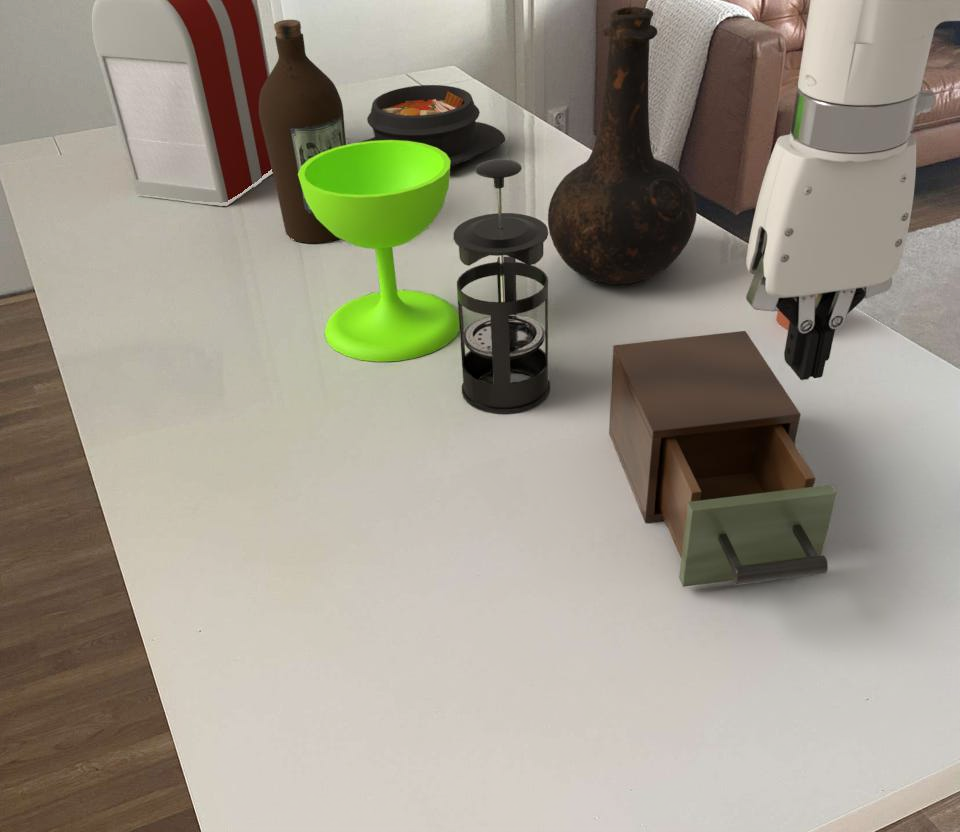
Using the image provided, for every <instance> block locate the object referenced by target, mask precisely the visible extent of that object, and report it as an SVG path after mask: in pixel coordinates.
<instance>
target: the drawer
mask: <svg viewBox="0 0 960 832" xmlns="http://www.w3.org/2000/svg"><path fill="white" fill-rule="evenodd" d="M815 482H816V476H815V474H814V473H813V471H812V470H811V468H810V467H809V465H808V464H807V462H806V461H805V459H804V457H803V456H802V454H801V453H800V450H799V449H798V448H797V446H796V445H794V443H793V441H792V440H791V438H790V437H789V435H788V434H787V432H786V430H785V429H784V427H783V426H782V424H777V425H768V426H759V427H751V428H742V429H734V430H725V431H716V432H708V433H699V434H691V435H682V436H674V437H665V438H661V447H660V458H659V469H658V479H657V490H656V501H657V503H658V506H659V508H660V510H661V513H662V515H663V517H664V522H665V524H666V527H667V529H668V531H669V533H670V536H671V538H672V541H673V543H674V545H675V548H676V550H677V552H678V555H679V557H680V567H679V574H678V579H679V582H680V583H681V587H683V588H686V587H691V586H692V587H693V586H699V585H700V586H701V585H708V584H717V583H725V582H731V581H732V583H733V584H734V585H736V586H737V585H738V586H739V585H745V584H754V583H761V582H768V581H769V582H770V581H777V580H785V579H793V578H802V577H808V576H810V577H811V576H817V575H818V576H819V575H825V574H827V572H828V568H829V563H828V559H827V557H826V556H825V555H822V554H823V551H824V546H825V542H826V537H827V534H828V531H829V526H830V522H831V519H832V514H833V510H834V508H835V507H834V506H835V502H836V499H837V495H838V493H837V492H836V489H835V488H834V487H833V485H832V484H825V485H817V486H815Z"/></svg>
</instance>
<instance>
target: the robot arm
mask: <svg viewBox="0 0 960 832" xmlns="http://www.w3.org/2000/svg"><path fill="white" fill-rule="evenodd" d="M944 22H960V0H810V1H809V9H808V15H807V21H806V26H805V27H806V28H805V35H804V41H803V47H802V53H801V61H800V67H799V74H798V80H797V86H796V93H795V99H794V106H793V112H792V118H791V119H792V120H791V125H790V132H789V134H784V135H780V136H778V138H777V139H776V142H775V144H774V147H773V150H772V152H771V155H770V158H769V160H768V163H767V166H766V170H765V172H764V176H763V178H762V182H761V187H760V190H759V194H758V197H757V201H756V202H757V203H756V205H755V206H756V207H755V211H754V215H753V220H752V224H751V229H750V234H749V239H748V245H747V251H746V259H745V260H746V261H745V264H746V269H747V271H748V273H749V274H752V275H753V278H752V280H751V283H750V285H749V288H748V291H747V294H746V298H745V299H746V301H747V302H748V304H749V305H750V306H751V307H752V308H753V309H754V310H756V311H765V312H778V311H780V312H781V313H782V314H783V315H784V316H785V317H786V318H787V319H788V320H789V321H790V323H789V328H788V330H787V335H786V341H785V346H784V353H783V357H784V362H785V363H786V364H787V366H788V367H790V369H791V370H792V371H793V372H794V374H795V375H796V376H797V378H798V379H799V380H800V381H805V380H809V379H810V378H813V379H818V378H819V379H820V378H822V377H823V375H824V370H825V367H826V362H828V361H829V359H830V356H831V351H832V347H833V342H834V339H835V337H834V336H835V334H836V333H835V332H836V330H837V329H840V328H841V327H842V326H843V325H844V324H845V322H846V319H847V316H848V315H849V313H851V312H852V310H854V309H855V308H857V306H858V305H859V304H860V303H861V302H862V301H863V300H864V299H869V298H873V297H874V296H877V295H880V294H883V293H885V292H887V291H889V290H890V289H891V288H892V285H893V277H894V276H895V275H896V274H897V271H898V269H899V267H900V265H901V261H902V258H903V254H904V251H905V247H906V242H907V237H908V232H909V227H910V221H911V217H912V216H911V215H912V209H913V203H914V197H915V196H914V195H915V185H916V172H917V138H916V137H915V136H914V134H913V133H912V132H913V130H914V127H915V123H916V118H917V116H920V115H921V114H924V113H929V112H931V111H932V110H933V107H934V105H935V97H936V96H935V93H934V90H933V89H923V87H922V85H923V81H924V77H925V72H926V68H927V63H928V59H929V54H930V50H931V46H932V43H933V42H932V41H933V37H934V33H935V30H936V28H937V27H938V26H939V25H940V24H942V23H944ZM816 294H818V296H817V299H816V302H815V296H816Z"/></svg>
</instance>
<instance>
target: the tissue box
mask: <svg viewBox="0 0 960 832" xmlns="http://www.w3.org/2000/svg"><path fill="white" fill-rule="evenodd" d="M258 13H259V12H258V10H257V6H256V4H255V1H254V0H95V1H94V4H93V6H92V14H91V29H92V30H91V33H92V38H93V44H94V47H95V52H96V55H97V59H98V64H99V66H100V69H101V73H102V77H103V81H104V84H105V87H106V90H107V94H108V97H109V101H110V105H111V108H112V112H113V115H114V116H113V117H114V119H115V122H116V126H117V129H118V132H119V133H118V134H119V136H120V140H121V143H122V147H123V150H124V154H125V158H126V161H127V165H128V169H129V172H130V176H131V179H132V182H133V186H134V190H135V192H136V195H137V194H140V195H148V196H149V195H150V196H159V197H166V198H174V199H175V198H176V199H181V200H190V201H191V200H192V201H203V202H219V203H223V202H228V200H230V199H232V198H233V197H235V196H237V195H238V194H240V193H242V192H243V191H244V190H245V189H247V188H248V187H249V186H251V185H252V184H254V183H255V182H257V181H258V180H259V179H260V178H262V176H263V175H264V174H266V173H268V171H270V170H271V169H272V168H271V164H270V159H269V155H268V151H267V147H266V143H265V138H264V134H263V130H262V126H261V122H260V117H259V97H260V92H261V89H262V87H263V85H264V83H265V82H266V80H267V78H268V77H269V75H270V73H269V67H268V61H267V55H266V49H265V45H264V38H263V33H262V28H261V27H262V26H261V22H260V17H259V14H258Z"/></svg>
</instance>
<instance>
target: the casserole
mask: <svg viewBox="0 0 960 832" xmlns="http://www.w3.org/2000/svg"><path fill="white" fill-rule="evenodd" d="M370 109H371V110H370V113H369V114H368V116H367V117H366V121H367V124H368V125H369V126H370V127H371V129H372V131H373V135H374V137H371V138H368V139H364V140H361V141H358V142H357V143H360V142H367V141H380V140H399V141H411V142H417V143H424V144H427V145H430V146H433V147H436V148H438V149H440V150H441V151H443V152H444V153H446V154H447V156H448V157H449V159H450V167H452V166H455V165H458V164H460V163H463V162H466V161H469V160H470V159H473V158H475V157H476V156H478V155H481V154H483V153H485V152H488V151H491V150H494V149H497V148H499V147H501V146H502V145H503V144H505V142H506V136H505V134H504V133H503V132H502V131H501V130H500V129H499V128H497V127H495V126H493V125H490V124H488V123H485V122H480V121H477V120H478V118H479V116H480V113H481V112H480V109H479V107H477V105H476V104H475V102H474V99H473V96H472V94H471V93H470V92H469V91H467V90H465V89H462V88H460V87H455V86H450V85H442V84H441V85H440V84H421V85H412V86H406V87H401V88H396V89H393V90H390V91H387V92H384V93H383V94H380V95H379V96H377V97H376V98H375V99H374V100H373V102H372V104H371V108H370Z"/></svg>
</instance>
